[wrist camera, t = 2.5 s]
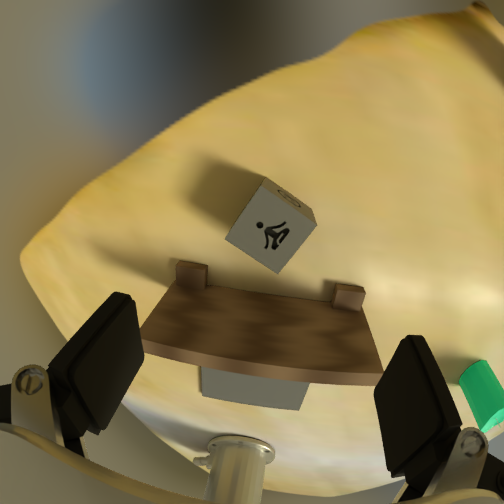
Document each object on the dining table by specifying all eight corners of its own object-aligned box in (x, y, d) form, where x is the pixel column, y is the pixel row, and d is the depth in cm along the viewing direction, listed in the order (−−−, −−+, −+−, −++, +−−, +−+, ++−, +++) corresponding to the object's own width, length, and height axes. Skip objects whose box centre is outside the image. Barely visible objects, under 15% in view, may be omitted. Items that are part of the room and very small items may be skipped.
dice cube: (279, 250, 27) (277, 274, 22) (235, 220, 26) (224, 239, 22) (311, 208, 25) (317, 225, 20) (266, 176, 24) (260, 185, 20)
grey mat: (298, 407, 36) (298, 410, 35) (202, 393, 37) (202, 395, 36) (324, 337, 30) (325, 340, 30) (202, 319, 31) (200, 322, 31)
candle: (453, 388, 32) (475, 444, 21) (468, 362, 30) (498, 420, 19) (477, 383, 31) (501, 434, 20) (493, 357, 29) (523, 409, 18)
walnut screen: (367, 287, 27) (395, 353, 18) (351, 333, 29) (367, 402, 20) (175, 260, 28) (130, 314, 19) (176, 307, 31) (140, 368, 22)
